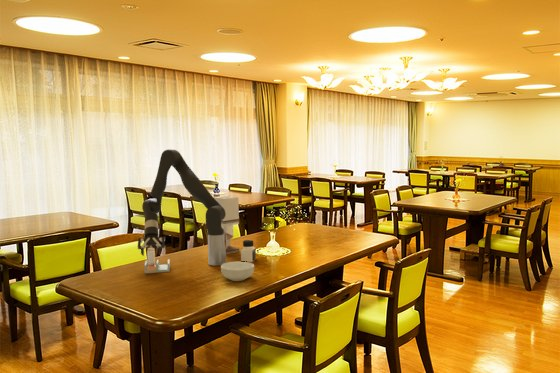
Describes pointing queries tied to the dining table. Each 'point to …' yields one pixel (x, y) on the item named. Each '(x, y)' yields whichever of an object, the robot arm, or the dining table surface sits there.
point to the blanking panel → (151, 257)
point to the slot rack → (157, 267)
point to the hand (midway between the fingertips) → (151, 254)
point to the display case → (229, 219)
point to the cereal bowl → (237, 270)
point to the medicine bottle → (248, 251)
